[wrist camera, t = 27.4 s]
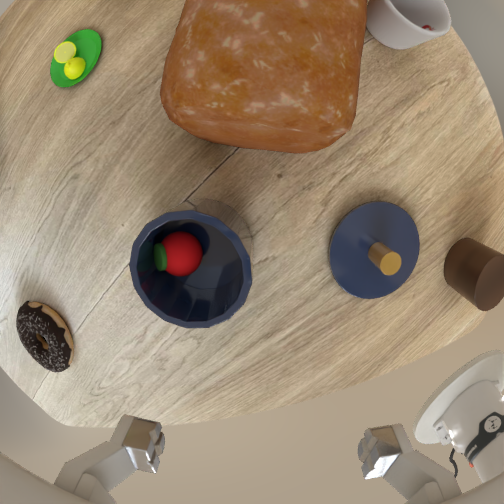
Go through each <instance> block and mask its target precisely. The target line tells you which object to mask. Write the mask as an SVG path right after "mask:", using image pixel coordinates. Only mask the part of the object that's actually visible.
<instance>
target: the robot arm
mask: <svg viewBox="0 0 504 504" xmlns="http://www.w3.org/2000/svg"><path fill="white" fill-rule="evenodd" d="M499 385H500V383H499V381H498V380H497V381H493V382H492V381H490V380H483V381H480V382H478V383H476V384H474V385H472V386H471V387H469V388H468V389H467V390H465V391H464V392H463V393H462V394H461V395H459V396H458V397H457V398H456V399H455V400H454V401H453V402H452V403H451V405H450V406H449V407H448V408H447V410H446V411H445V412H444V414H443V415H442V416H441V417H440V418H439V419H438V420H437V421H436V422H435V423H434V424H433V428H434V430H435V432H436V434H437V436H438V438H439V440H440V442H441V444H442V445H447V444H449V443H451V444H452V446H453V447H454V448H453V450H452V452H451V455H450V458H449V459H450V462H451V463H452V464H453V465H454V468H455V475H454V474H453V473H452V472H450V471H449V470H447V469H445V468H444V467H442V466H441V465H439V464H437V463H436V462H434V461H433V460H431V459H429V458H428V457H426V456H425V455H423V454H422V453H420V452H419V451H417V450H415V451H414V450H413V448H412V446H411V443H410V441H409V439H408V437H407V434H406V432H405V430H404V428H403V425H402V424H394V425H387V426H382V427H375V428H368V429H367V430H366V431H365V433H364V436H365V437H364V438H363V439H361V441H360V443H359V445H358V456H359V460H361V461H362V462H363V463H364V464H363V466H362V471H363V475H364V479H370V478H376V477H381V476H383V478H384V479H385V480H386V481H387V482H388V483H390V485H392V486H393V487H394V488H395V489H396V490H397V491H398V492H399V493H400V494H402V495H403V496H404V497H405V498H406V499H407V500H408V501H407V502H406V503H405V504H504V397H503V396H502V394H501V393H500V391H499V389H498V388H499ZM161 428H162V426H161V423H160V422H155V421H151V420H147V419H142V418H138V417H134V416H130V415H126V414H124V415H123V416H122V417H121V419H120V421H119V423H118V425H117V427H116V429H115V432H114V433H113V435H112V437H111V440H110V442H107V441H106V442H104V443H102V444H100V445H99V446H97V447H95V448H93V449H91V450H89V451H87V452H85V453H83V454H82V455H80V456H78V457H76V458H74V459H72V460H70V461H68V462H66V463H65V464H64V466H63V468H62V470H61V471H60V473H59V475H58V477H57V479H56V481H55V483H54V484H51V483H50V482H48V481H46V480H44V479H42V478H40V477H39V476H37V475H35V474H33V473H32V472H30V471H28V470H27V469H25V468H23V467H22V466H20V465H19V464H17V463H16V462H14V461H13V460H11V459H10V458H8V457H7V456H5V455H4V454H2V453H1V452H0V504H116V501H115V500H114V499H113V497H112V496H111V495H110V494H109V493H108V492H109V491H110V490H112V489H113V488H114V487H116V486H117V485H118V484H120V483H121V482H122V481H124V480H125V479H126V478H128V477H129V476H130V475H131V474H132V473H134V472H135V471H136V469H137V470H141V471H145V472H150V473H155V474H156V472H157V469H158V466H159V463H160V461H159V458H158V456H159V455H161V454H162V453H163V450H164V444H165V438H164V434H163V433H162V432H161ZM454 451H456V452H459V453H461V454H464V455H465V457H466V458H467V461H468V462H469V465H470V467H475V469H476V471H477V473H478V475H479V477H480V479H481V481H482V484H481V485H479V486H477V487H475V488H473V489H471V490H469V491H467V492H465V493H463V494H462V492H461V490H460V488H459V486H458V483H457V481H456V479H455V478H456V476H457V473H458V469H457V465H456V463H455V461H454V460H453V459H452V458H453V454H454Z"/></svg>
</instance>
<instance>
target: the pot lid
mask: <svg viewBox="0 0 504 504" xmlns="http://www.w3.org/2000/svg"><path fill="white" fill-rule="evenodd" d="M419 246H420V243H419V235H418V231H417V228H416V225H415V223H414V221H413V220H412V218H411V217H410V215H409V214H408V213H407V212H406V211H405V210H403V209H402V208H400V207H399V206H397V205H395V204H392V203H389V202H384V201H372V202H368V203H364V204H362V205H359V206H358V207H356V208H354V209H353V210H351V211H350V212H349V213H348V214H347V215H345V216H344V217H343V219H342V220H341V221H340V222H339V224H338V225H337V227H336V229H335V231H334V233H333V235H332V238H331V241H330V246H329V264H330V269H331V272H332V274H333V276H334V278H335V280H336V281H337V283H338V284H339V285H340V286H341V288H342V289H344V290H345V291H346V292H347V293H349V294H351V295H353V296H356V297H359V298H364V299H374V298H380V297H383V296H386V295H388V294H390V293H392V292H393V291H395V290H396V289H398V288H399V287H400V286H401V285H402V284H403V283H404V282H405V281H406V280H407V279H408V278H409V276H410V275H411V273H412V271H413V269H414V267H415V265H416V262H417V259H418V255H419Z"/></svg>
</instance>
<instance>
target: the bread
mask: <svg viewBox="0 0 504 504" xmlns="http://www.w3.org/2000/svg"><path fill="white" fill-rule="evenodd" d="M366 22H367V0H186V1H185V5H184V8H183V11H182V14H181V17H180V21H179V24H178V26H177V28H176V34H175V36H174V39H173V41H172V44H171V46H170V49H169V52H168V54H167V57H166V61H165V66H164V72H163V77H162V83H161V90H160V96H161V102H162V104H163V107H164V109H165V111H166V113H167V115H168V117H169V119H170V120H171V121H172V122H174V123H175V124H176V125H178V126H180V127H181V128H183V129H184V130H186V131H187V132H189V133H191V134H192V135H194V136H196V137H198V138H201V139H204V140H206V141H209V142H212V143H217V144H223V145H229V146H234V147H240V148H249V149H260V150H270V151H279V152H288V153H307V152H312V151H318V150H321V149H323V148H326V147H328V146H330V145H331V144H333V143H334V142H335V141H336V140H338V139H339V138H340V137H342V136H343V135H344V134H345V133H346V132H348V131H350V130H351V127H352V124H353V121H354V118H355V115H356V106H357V97H358V87H359V76H360V64H361V56H362V49H363V43H364V36H365V29H366Z"/></svg>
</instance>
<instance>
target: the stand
mask: <svg viewBox="0 0 504 504" xmlns="http://www.w3.org/2000/svg"><path fill="white" fill-rule="evenodd" d="M444 276H445V280H446V282H447V283H448V285H450V286H451V287H452V288H453V289H455V290H456V291H457V292H458V293H460V294H461V295H462V296H463V297H465V298H466V299H467V300H468V301H470V302H471V303H472V304H473V305H475V306H476V307H477V308H478V309H479V310H481V311H488V310H490V309H492V308H494V307H495V306H496V305H497V304H498V303H499V302H500V301H501V300H502V298H503V297H504V255H503V254H501V253H499V252H497V251H495V250H493V249H491V248H489V247H487V246H485V245H483V244H481V243H479V242H477V241H475V240H473V239H471V238H464V239H461V240H459V241H458V242H456V243H455V244H454V245H453V247H452V248H451V249H450V251H449V253H448V255H447V257H446V260H445V265H444Z"/></svg>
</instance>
